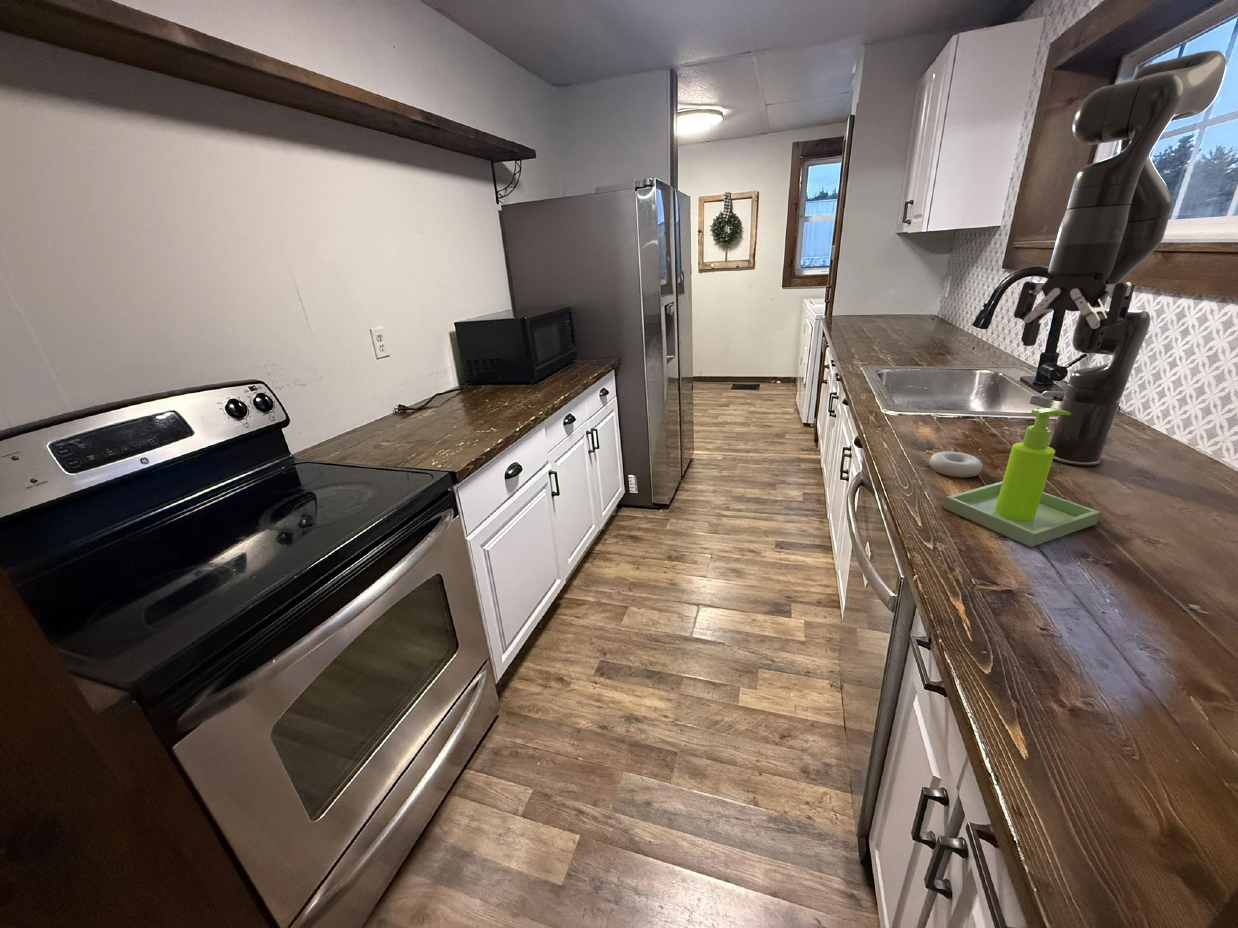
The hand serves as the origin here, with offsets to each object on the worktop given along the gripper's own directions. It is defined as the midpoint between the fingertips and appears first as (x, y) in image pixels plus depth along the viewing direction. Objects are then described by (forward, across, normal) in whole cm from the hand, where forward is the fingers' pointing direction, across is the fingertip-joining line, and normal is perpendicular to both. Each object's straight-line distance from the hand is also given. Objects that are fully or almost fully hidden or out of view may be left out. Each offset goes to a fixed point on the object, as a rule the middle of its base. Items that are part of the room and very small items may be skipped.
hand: (1056, 349), depth 81 cm
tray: (+31, -1, 0) cm, 31 cm away
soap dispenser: (+30, -1, 0) cm, 30 cm away
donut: (+31, +18, -9) cm, 37 cm away
